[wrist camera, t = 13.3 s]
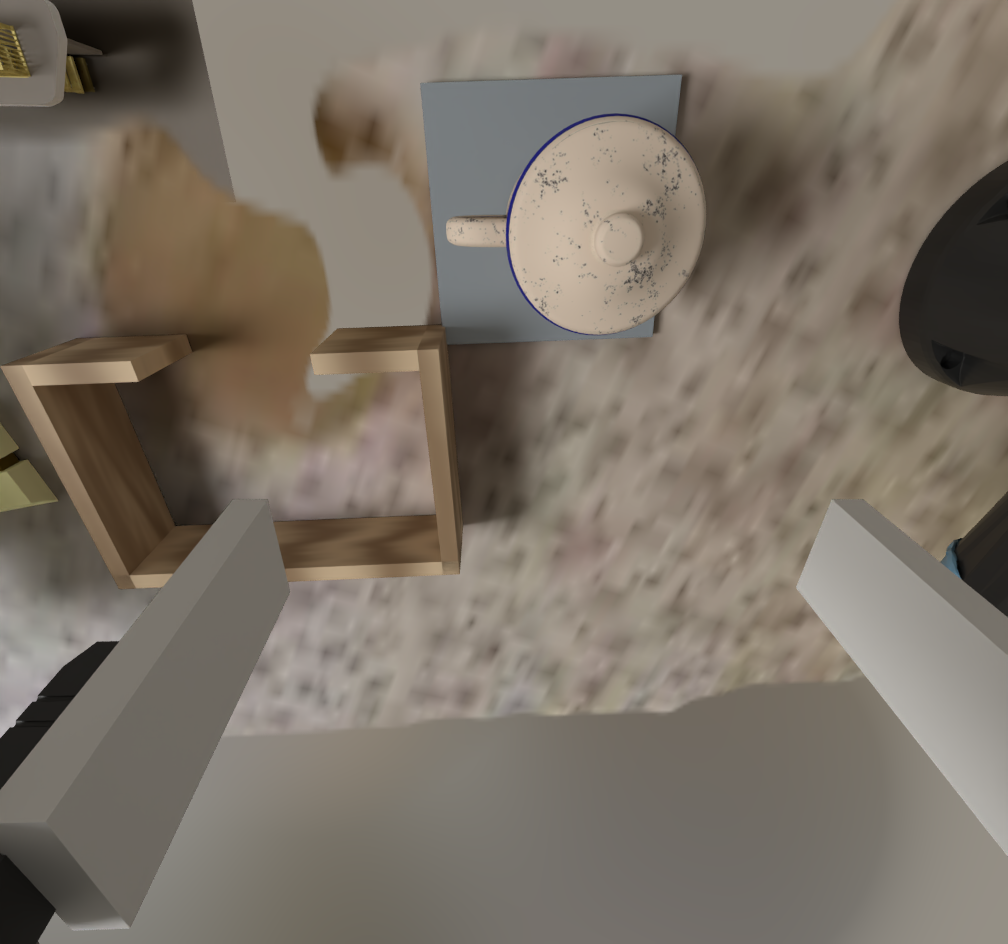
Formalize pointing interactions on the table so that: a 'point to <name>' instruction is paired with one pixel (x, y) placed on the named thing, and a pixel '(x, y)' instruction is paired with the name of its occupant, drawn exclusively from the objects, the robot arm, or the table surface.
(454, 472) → the open enclosure
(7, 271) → the table surface
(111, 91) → the platform
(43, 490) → the slatted curved stool
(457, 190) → the mat
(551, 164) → the teacup with lid
